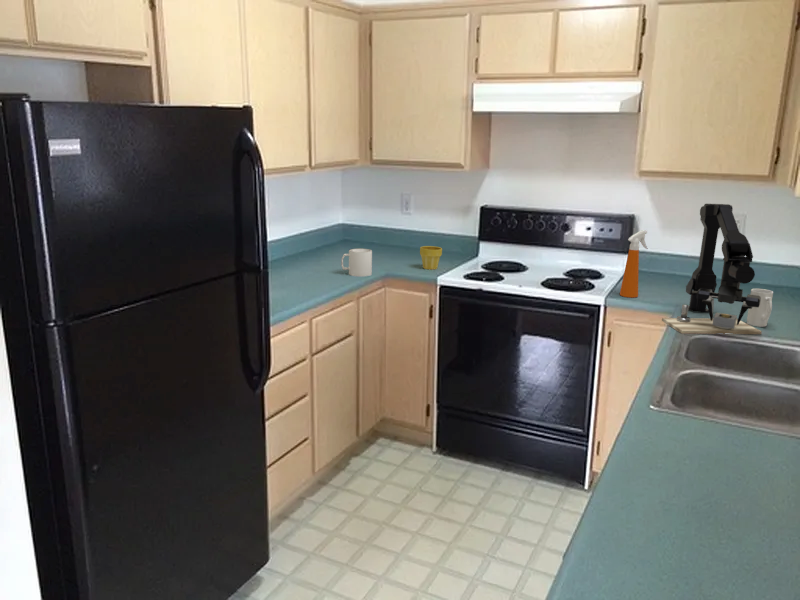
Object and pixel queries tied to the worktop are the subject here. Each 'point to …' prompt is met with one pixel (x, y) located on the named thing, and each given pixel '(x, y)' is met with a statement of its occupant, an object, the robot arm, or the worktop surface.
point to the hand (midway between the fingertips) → (724, 322)
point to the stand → (684, 314)
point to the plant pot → (430, 256)
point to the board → (707, 327)
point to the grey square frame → (724, 320)
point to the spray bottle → (632, 266)
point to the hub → (724, 327)
